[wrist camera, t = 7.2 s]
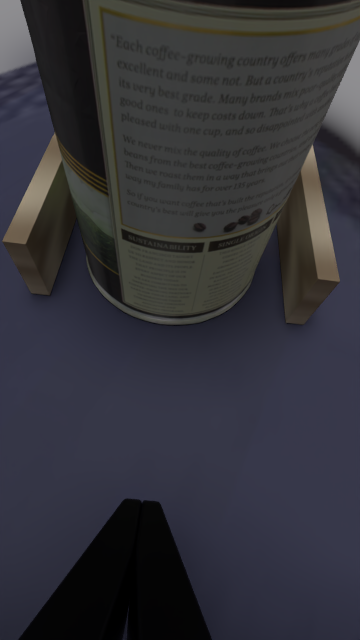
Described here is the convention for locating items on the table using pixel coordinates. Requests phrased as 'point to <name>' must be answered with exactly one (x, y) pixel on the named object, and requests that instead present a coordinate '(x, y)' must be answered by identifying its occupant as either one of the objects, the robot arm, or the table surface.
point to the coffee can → (185, 134)
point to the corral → (293, 230)
